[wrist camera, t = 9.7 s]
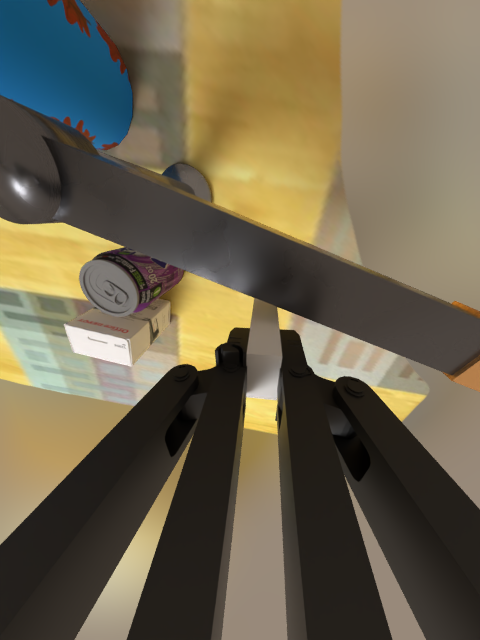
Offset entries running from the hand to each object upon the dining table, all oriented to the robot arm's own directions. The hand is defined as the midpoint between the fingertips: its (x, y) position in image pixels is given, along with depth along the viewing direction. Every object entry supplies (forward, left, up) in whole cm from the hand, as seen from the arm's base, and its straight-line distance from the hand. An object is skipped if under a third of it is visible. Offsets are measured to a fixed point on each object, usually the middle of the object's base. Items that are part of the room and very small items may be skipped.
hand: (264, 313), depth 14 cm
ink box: (+5, -22, -16) cm, 27 cm away
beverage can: (-2, -16, -16) cm, 23 cm away
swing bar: (-4, +1, +1) cm, 4 cm away
